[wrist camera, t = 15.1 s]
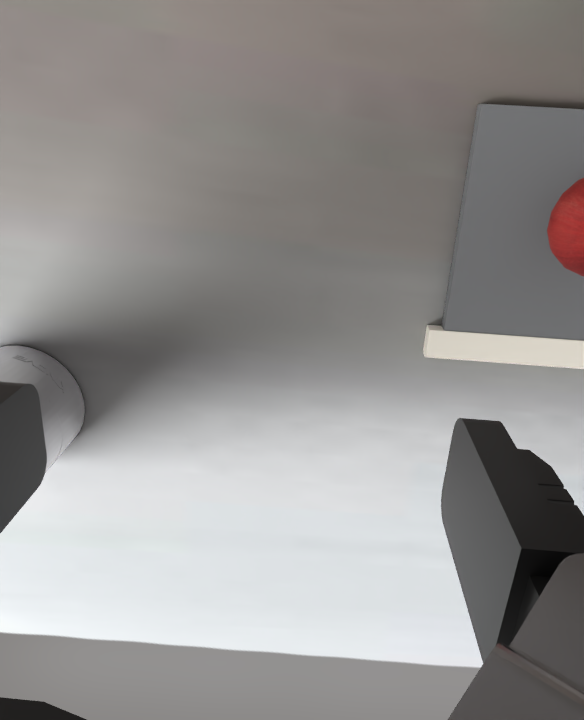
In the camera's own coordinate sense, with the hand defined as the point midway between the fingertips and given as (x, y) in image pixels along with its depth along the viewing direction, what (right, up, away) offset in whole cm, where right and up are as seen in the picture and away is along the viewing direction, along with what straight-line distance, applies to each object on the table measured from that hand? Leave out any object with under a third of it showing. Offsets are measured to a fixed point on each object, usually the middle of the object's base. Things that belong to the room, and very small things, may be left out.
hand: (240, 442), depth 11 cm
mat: (+19, +9, +25) cm, 33 cm away
